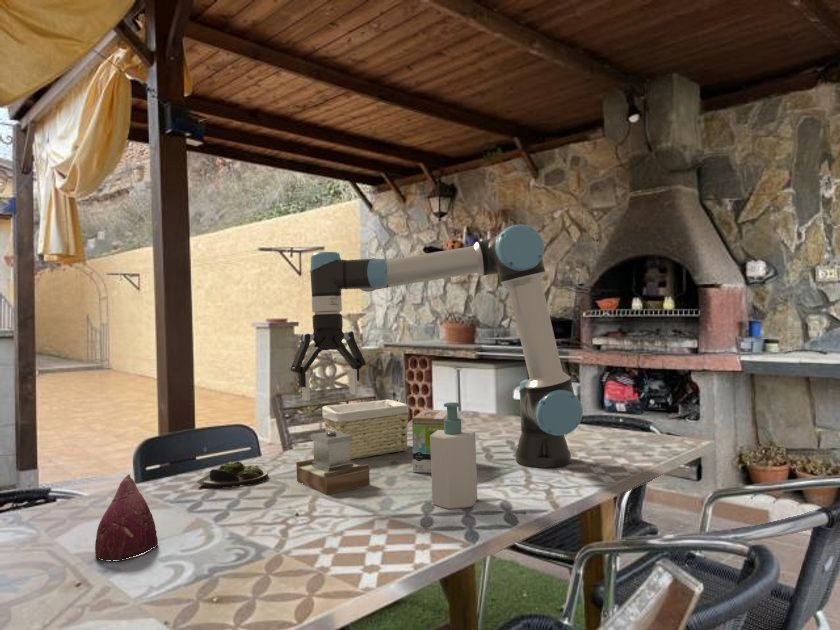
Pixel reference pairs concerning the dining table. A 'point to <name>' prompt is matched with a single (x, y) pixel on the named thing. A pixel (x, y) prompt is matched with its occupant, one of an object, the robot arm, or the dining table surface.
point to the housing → (331, 451)
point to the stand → (332, 477)
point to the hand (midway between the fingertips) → (330, 397)
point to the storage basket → (370, 426)
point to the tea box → (425, 437)
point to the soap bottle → (453, 463)
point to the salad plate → (233, 475)
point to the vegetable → (126, 525)
